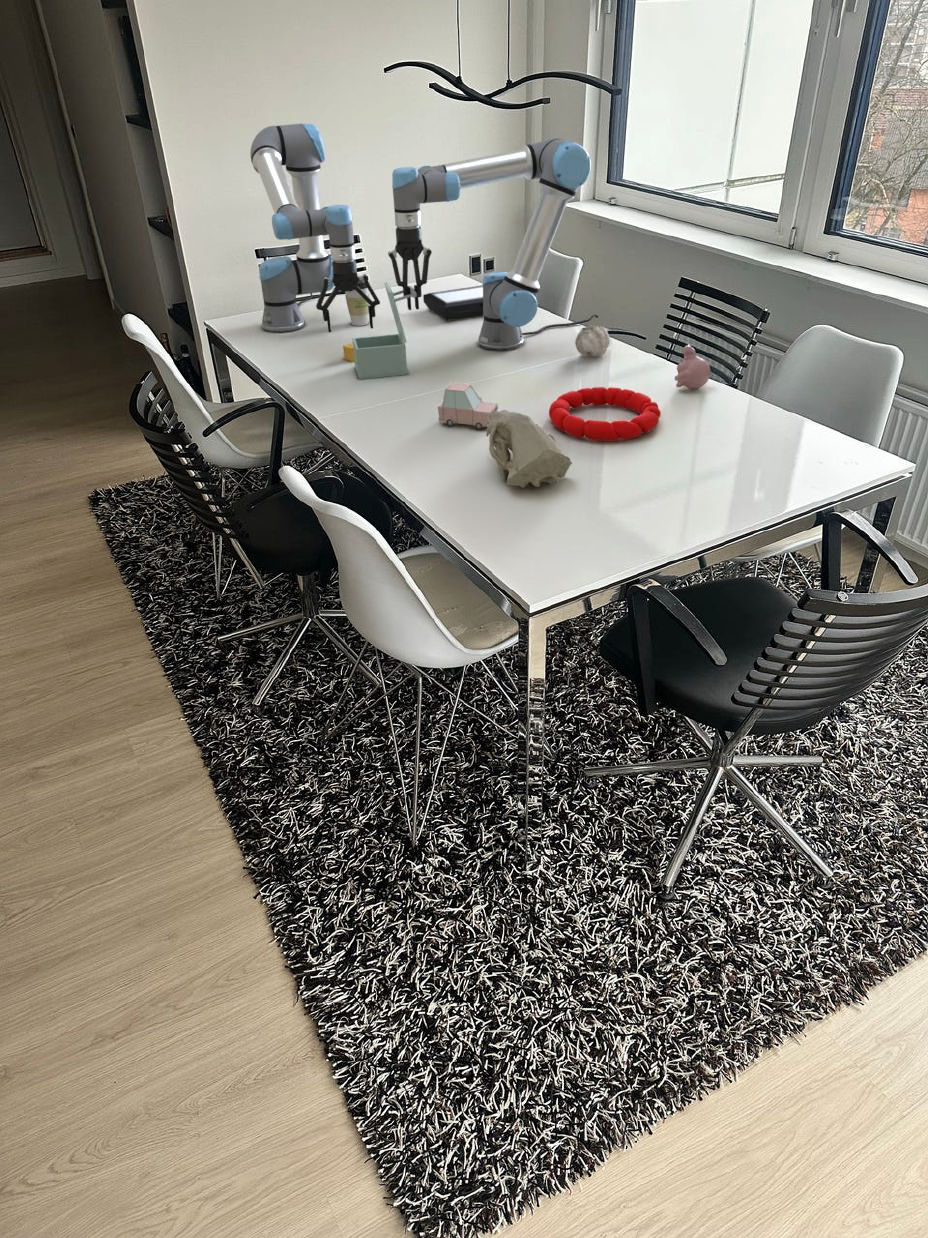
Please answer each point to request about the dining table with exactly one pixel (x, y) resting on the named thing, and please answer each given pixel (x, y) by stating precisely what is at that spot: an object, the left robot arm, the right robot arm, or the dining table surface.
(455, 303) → the electronic device
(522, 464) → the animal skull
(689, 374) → the figurine
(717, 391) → the dining table surface
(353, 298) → the coffee cup
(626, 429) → the decorative ring
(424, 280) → the right robot arm
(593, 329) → the seashell
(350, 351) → the block
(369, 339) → the chest
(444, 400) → the toy car
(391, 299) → the lid
